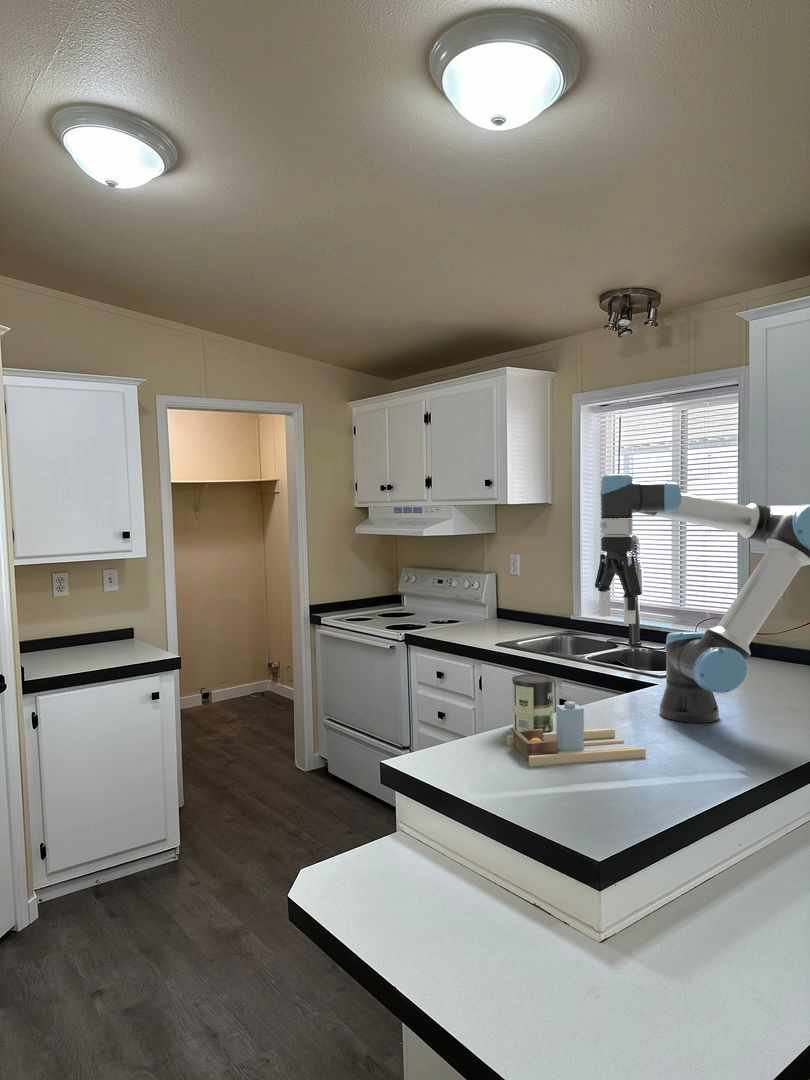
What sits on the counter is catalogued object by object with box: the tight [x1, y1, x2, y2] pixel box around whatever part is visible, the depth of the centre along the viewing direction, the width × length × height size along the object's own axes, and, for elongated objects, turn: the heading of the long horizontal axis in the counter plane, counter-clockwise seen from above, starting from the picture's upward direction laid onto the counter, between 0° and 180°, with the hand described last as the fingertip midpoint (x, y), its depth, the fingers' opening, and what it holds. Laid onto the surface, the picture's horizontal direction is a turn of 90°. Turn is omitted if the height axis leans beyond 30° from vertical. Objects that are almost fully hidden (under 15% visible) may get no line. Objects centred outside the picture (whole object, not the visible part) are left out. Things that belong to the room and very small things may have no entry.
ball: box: [530, 738, 541, 742], centre depth 166 cm, size 4×4×4 cm
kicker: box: [555, 701, 585, 752], centre depth 167 cm, size 5×4×11 cm
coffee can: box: [511, 673, 554, 733], centre depth 185 cm, size 10×10×14 cm
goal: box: [512, 729, 559, 762], centre depth 166 cm, size 7×10×4 cm
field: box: [506, 727, 647, 767], centre depth 168 cm, size 27×16×3 cm, turn 100°
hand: (616, 619), depth 184 cm, fingers open, 13 cm apart
